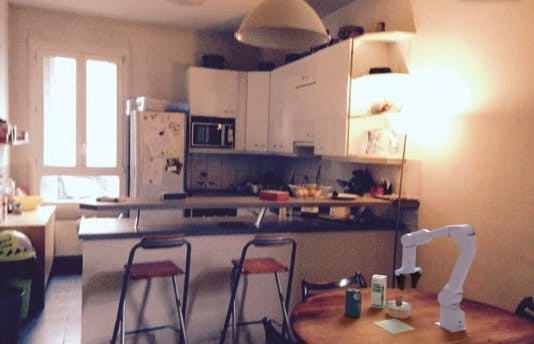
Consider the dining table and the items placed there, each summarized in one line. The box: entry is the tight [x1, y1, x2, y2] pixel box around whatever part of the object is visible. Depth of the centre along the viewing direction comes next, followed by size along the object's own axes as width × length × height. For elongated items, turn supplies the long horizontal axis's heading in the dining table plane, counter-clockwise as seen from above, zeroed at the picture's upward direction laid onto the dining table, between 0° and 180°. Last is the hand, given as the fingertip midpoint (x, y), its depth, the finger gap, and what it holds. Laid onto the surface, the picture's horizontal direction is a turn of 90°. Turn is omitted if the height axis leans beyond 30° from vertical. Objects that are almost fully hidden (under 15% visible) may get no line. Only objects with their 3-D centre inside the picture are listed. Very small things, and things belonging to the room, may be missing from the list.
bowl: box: [387, 307, 410, 319], centre depth 193 cm, size 9×9×4 cm
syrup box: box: [370, 274, 388, 309], centre depth 203 cm, size 6×6×14 cm
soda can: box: [344, 287, 363, 319], centre depth 190 cm, size 7×7×12 cm
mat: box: [373, 317, 416, 335], centre depth 180 cm, size 12×12×1 cm
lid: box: [385, 294, 413, 312], centre depth 193 cm, size 11×11×5 cm
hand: (407, 289), depth 198 cm, fingers open, 7 cm apart
